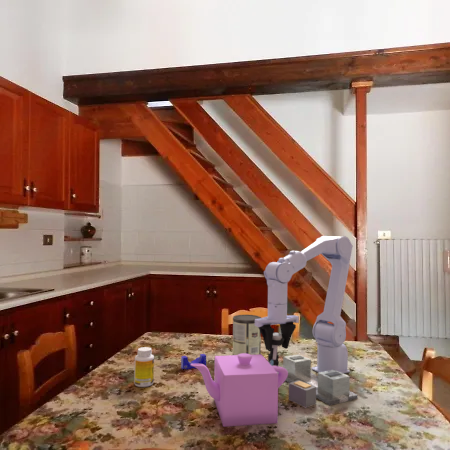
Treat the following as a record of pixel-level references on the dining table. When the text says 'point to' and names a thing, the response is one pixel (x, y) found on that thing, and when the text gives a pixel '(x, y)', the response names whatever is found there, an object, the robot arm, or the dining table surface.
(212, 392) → the teapot
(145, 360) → the supplement bottle
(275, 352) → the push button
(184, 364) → the cable holder
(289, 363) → the rail plate
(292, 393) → the block
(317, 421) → the dining table surface
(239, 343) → the coffee can
